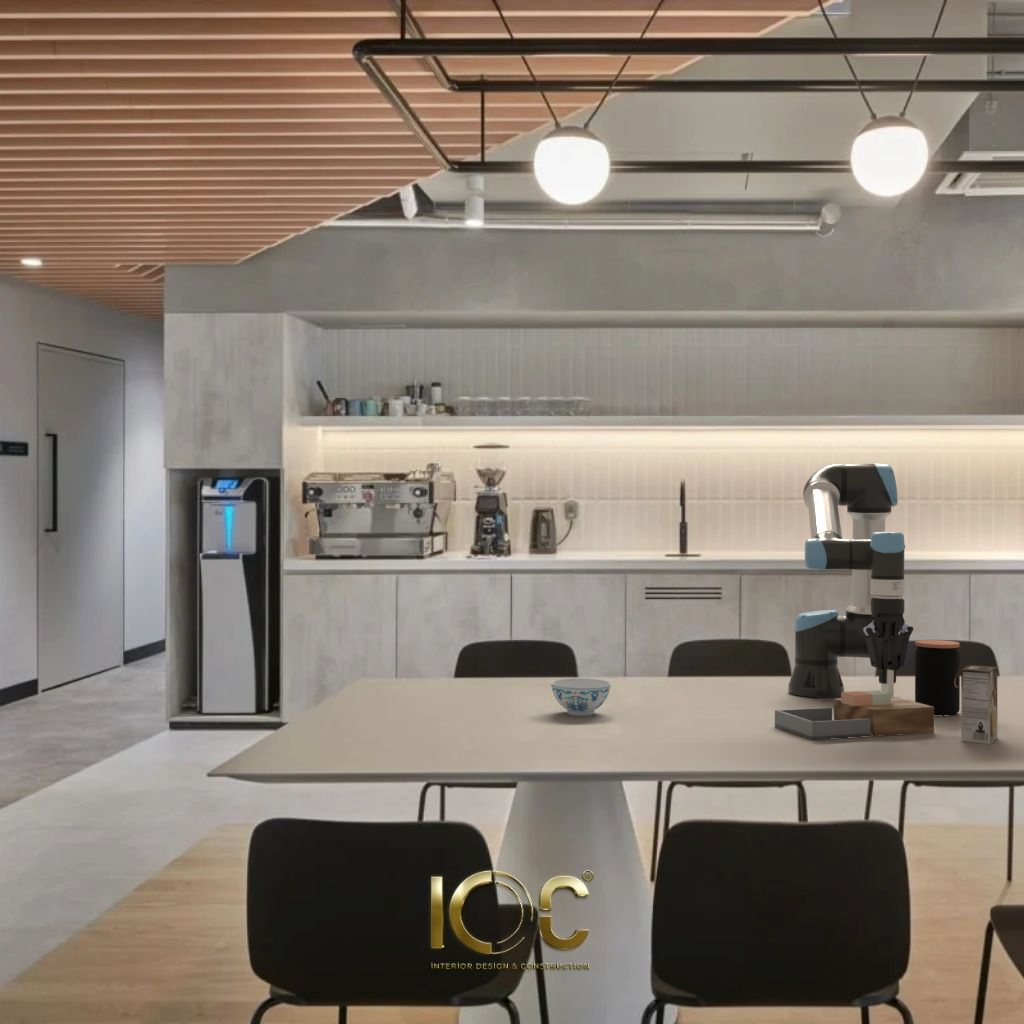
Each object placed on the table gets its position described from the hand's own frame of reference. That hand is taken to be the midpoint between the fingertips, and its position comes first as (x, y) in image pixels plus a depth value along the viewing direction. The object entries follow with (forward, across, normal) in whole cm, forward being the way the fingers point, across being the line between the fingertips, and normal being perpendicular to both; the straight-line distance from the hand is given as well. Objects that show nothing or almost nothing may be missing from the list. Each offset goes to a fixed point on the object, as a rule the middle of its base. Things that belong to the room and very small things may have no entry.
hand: (887, 697), depth 257 cm
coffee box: (+8, +12, -17) cm, 22 cm away
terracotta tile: (+1, -8, 0) cm, 8 cm away
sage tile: (+1, -3, 0) cm, 3 cm away
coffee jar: (+8, +25, +14) cm, 29 cm away
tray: (+7, -18, 0) cm, 19 cm away
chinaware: (+7, -63, +37) cm, 74 cm away
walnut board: (+7, -1, 0) cm, 7 cm away
